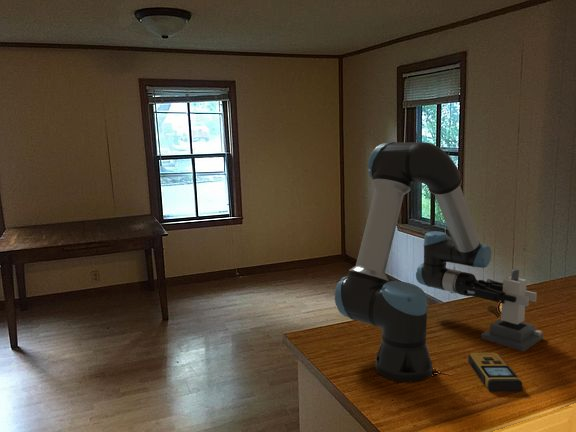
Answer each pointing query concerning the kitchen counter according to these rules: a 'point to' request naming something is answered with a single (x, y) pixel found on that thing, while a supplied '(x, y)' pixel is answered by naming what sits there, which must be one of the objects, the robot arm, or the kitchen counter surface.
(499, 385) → the electronic device
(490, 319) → the kitchen counter surface
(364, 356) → the kitchen counter surface
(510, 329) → the socket
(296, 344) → the kitchen counter surface
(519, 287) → the plug
